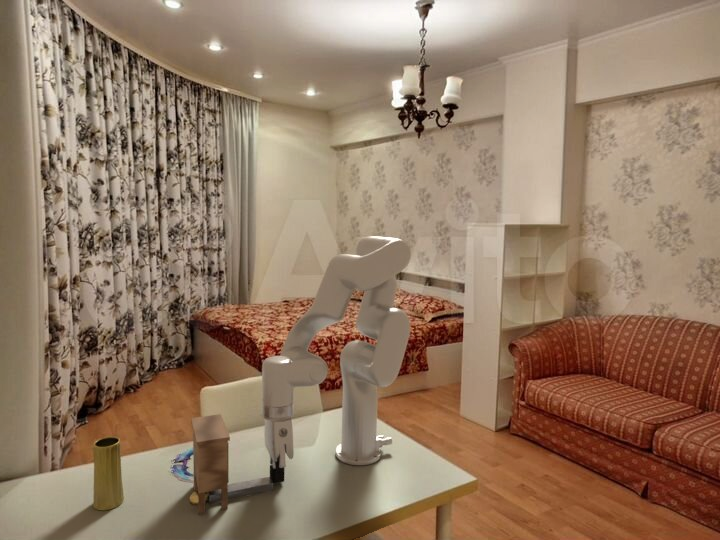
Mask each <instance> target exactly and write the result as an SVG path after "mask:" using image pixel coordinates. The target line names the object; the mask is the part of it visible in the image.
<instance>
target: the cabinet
mask: <svg viewBox="0 0 720 540" xmlns="http://www.w3.org/2000/svg"><path fill="white" fill-rule="evenodd" d="M190 423H191V426H192V441H193V442H192V443H193V444H192V446H193V447H192V448H193V455H192V457H193V458H192V459H193V461H192V462H193V474H194V476H193V481H194V483H193V490H194V491H198V499H199V506H198V515H199V516H201V515H205V514H206V503H205V492H209V491H214V490H219V489H221V501H220V503H221V505H220V506H221V507H220V508H221V511H226V510H228V508H229V507H228V506H229V502H228V501H229V500H228V485H229V480H230V479H229V442H230V441H231V439H230V438H231V437H230V434H229V432H228V429H227V426H226V423H225V421H224V418H223V416H222V414H221V413H220V414H212V415H206V416H199V417H191V418H190Z"/></svg>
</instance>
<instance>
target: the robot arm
mask: <svg viewBox="0 0 720 540" xmlns="http://www.w3.org/2000/svg"><path fill="white" fill-rule="evenodd" d="M355 252H356V254H349V253H348V254H347V253H344V254H343V253H341V254H336V255H334V256H332V258H331V259H330V260H329V262H328V264H327V267H326V269H325V272H324V274H323V277H322V279H321V282H320V284H319V287H318V290H317V292H316V294H315V296H314V299H313V302H312V305H311V306H310V307H309V309H308V310H307V311H306V312H305V313H304V314H303V315H302V316H301V317H299V319H298V320H297V321H296V322H295V323H294V325H293V326H292V327H291V328H290V331H289V332H288V334H287V336H286V338H285V341H284V343H283V346H282V349H281V350H280V355H273V356H270V357H267V358H265V359H264V360H263V362H262V366H261V417H262V418H263V419H264V445H265V449H266V450H267V452H268V454H269V463H270V465H269V477H271V479H272V481H273V485H274V484H279V483H284V482H285V468H286V467H287V464H286V463H287V461H286V456H287V458H288V459H289V460H293V458H294V454H295V453H294V427H293V422H292V421H293V419H292V417H293V416H294V408H295V407H294V403H295V388H302V387H303V388H304V387H306V388H307V387H315V386H317V385H320V384H321V383H323V382H324V381H325V380H326V379H327V377H328V375H329V374H328V373H329V367H328V364H327V362H326V361H325V360H324V359H323V358H322V357H320V356H319V355H317V354H314V353H312V352H310V351H309V348H310V345H311V344H312V341H313V340H314V338H315V337H316V335H318V334H319V332H321V331H322V330H324V329H326V328H328V327H330V326H333V325H335V324H337V323H340V322H342V321H343V319H344V317H345V314H346V312H347V311H348V310H347V309H348V307H349V304H350V301H351V299H352V296H353V294H354V292H355V291H358V292H364V293H363V296H362V299H361V302H360V305H359V309H358V313H357V317H356V320H355V326H356V330H357V331H358V333H360V335H362V336H364V337H367V338H370V339H373V340H375V341H376V344H373V343H370V342H367V341H364V340H358V339H356V340H351V341H349V342H348V343H346V344H345V346H343V348H342V350H341V353H340V356H339V360H340V361H339V366H340V371H341V372H340V373H341V379H342V405H341V406H342V407H341V409H342V410H341V412H342V413H341V442H340V443H339V444H338V445H337V446H336V448H335V456H336V458H337V459H338V460H339V461H340V462H342V463H345V464H348V465H352V466H368V465H371V464H374V463H376V462H377V461H379V460H380V459H381V457H382V449H381V448H383V446H389V445H392V444H393V439H392V437H384V435H383V434H382V435H377V432H378V431H377V429H378V428H377V427H378V425H377V424H378V401H379V397H378V396H379V394H378V393H379V391H378V387H379V388H387V387H389V386H391V384H393V383H394V382H395V381H396V379H397V377H398V375H399V374H400V370H401V368H402V363H403V361H404V356H405V353H406V349H407V346H408V342H409V339H410V336H411V335H410V334H411V322H410V318H409V316H408V314H407V313H406V312H405V311H404V310H402V309H401V308H397V307H394V304H395V299H396V294H397V290H398V289H397V287H398V283H397V282H398V281H397V278H396V275H398V274H399V273H401V272H403V271H404V270H405V269H406V268H407V266H408V265H409V263H410V262H411V257H412V251H411V247H410V246H409V244H408V243H407V242H406V241H405V240H403V239H400V238H395V237H385V236H376V235H375V236H374V235H373V236H372V235H371V236H365V237H362V238H360V239H359V241H358V242H357V245H356V251H355Z"/></svg>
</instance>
